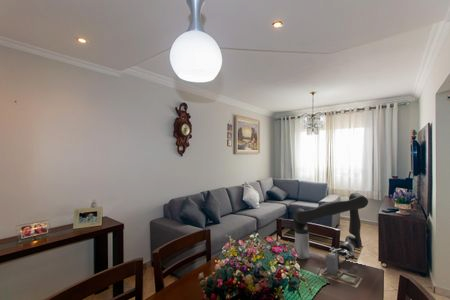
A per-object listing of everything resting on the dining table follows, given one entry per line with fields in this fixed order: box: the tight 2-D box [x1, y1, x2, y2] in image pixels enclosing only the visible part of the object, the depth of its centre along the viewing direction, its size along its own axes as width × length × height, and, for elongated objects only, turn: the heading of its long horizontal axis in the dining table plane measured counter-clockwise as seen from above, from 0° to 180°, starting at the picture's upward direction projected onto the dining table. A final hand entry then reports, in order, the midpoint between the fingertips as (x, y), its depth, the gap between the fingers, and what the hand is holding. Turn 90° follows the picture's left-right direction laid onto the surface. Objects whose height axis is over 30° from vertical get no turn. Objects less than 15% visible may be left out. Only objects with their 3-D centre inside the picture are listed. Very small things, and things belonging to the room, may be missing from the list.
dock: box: [318, 267, 363, 288], centre depth 135 cm, size 20×12×2 cm, turn 47°
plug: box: [325, 252, 339, 276], centre depth 138 cm, size 5×5×12 cm
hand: (338, 256), depth 146 cm, fingers open, 8 cm apart
